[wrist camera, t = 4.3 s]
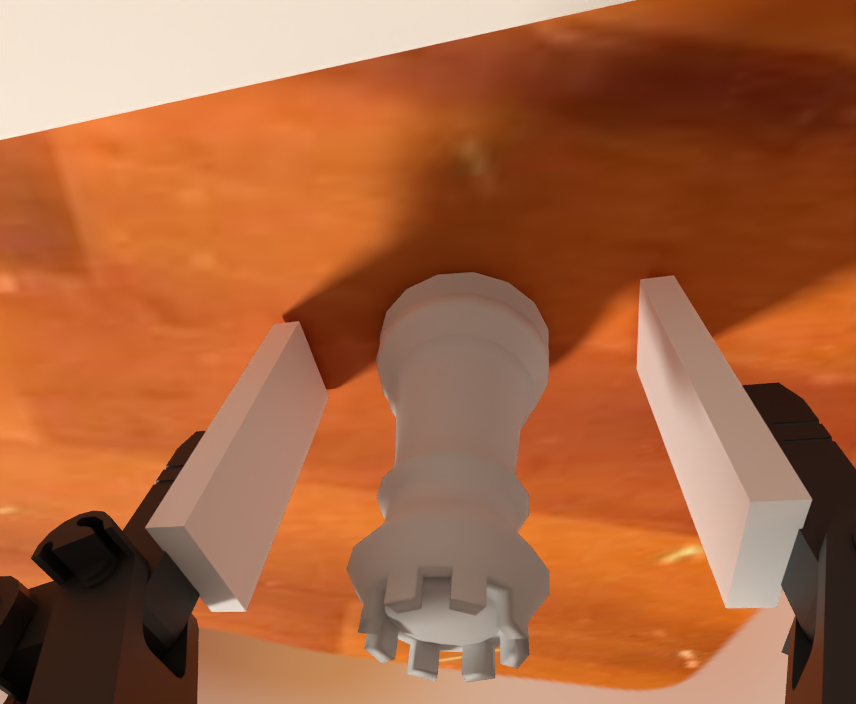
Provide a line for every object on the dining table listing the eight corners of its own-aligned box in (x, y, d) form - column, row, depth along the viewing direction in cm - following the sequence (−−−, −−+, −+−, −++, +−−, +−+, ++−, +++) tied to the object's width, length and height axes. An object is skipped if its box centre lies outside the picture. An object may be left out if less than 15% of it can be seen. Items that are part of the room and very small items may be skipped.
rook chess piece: (427, 231, 12) (359, 508, 6) (583, 311, 13) (672, 628, 7) (357, 361, 15) (257, 655, 8) (493, 421, 16) (496, 729, 9)
